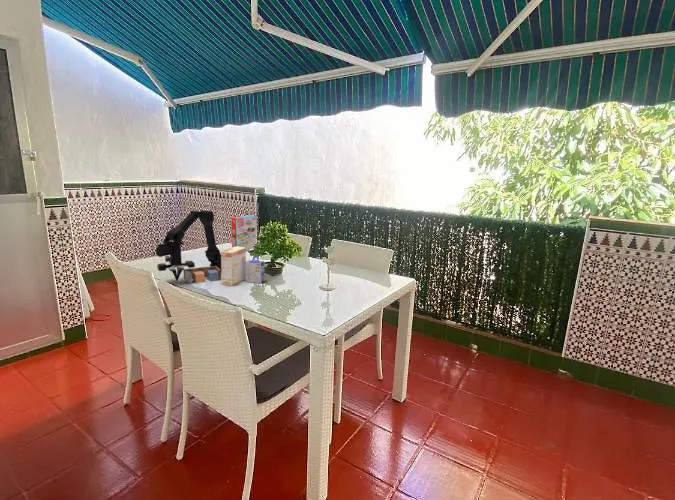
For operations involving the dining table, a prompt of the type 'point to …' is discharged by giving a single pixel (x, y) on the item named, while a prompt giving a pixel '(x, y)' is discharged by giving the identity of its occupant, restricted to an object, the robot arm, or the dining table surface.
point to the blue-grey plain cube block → (212, 275)
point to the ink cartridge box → (255, 271)
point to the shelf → (203, 270)
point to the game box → (244, 231)
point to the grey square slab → (188, 277)
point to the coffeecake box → (233, 265)
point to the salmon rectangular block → (198, 277)
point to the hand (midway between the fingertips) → (176, 280)
